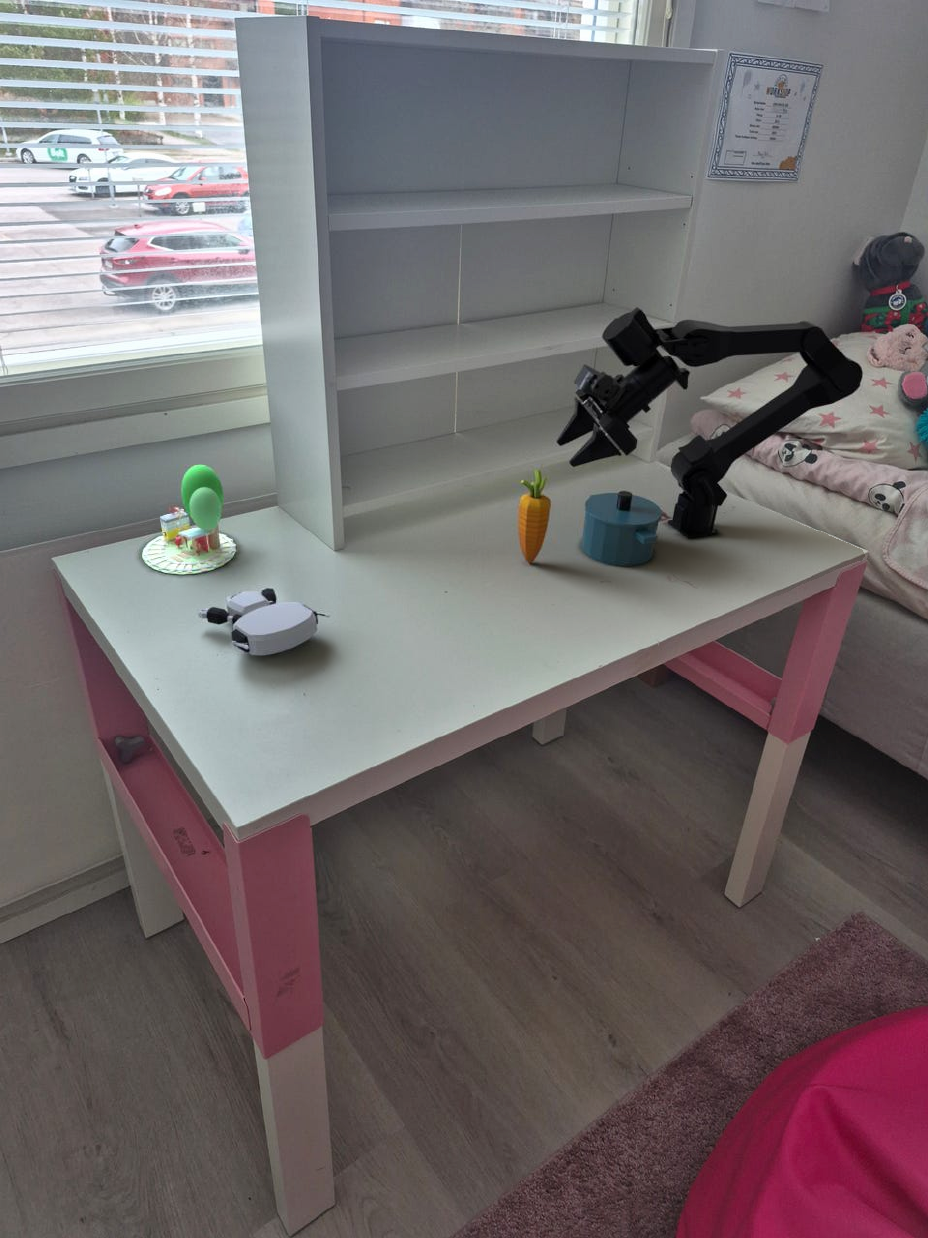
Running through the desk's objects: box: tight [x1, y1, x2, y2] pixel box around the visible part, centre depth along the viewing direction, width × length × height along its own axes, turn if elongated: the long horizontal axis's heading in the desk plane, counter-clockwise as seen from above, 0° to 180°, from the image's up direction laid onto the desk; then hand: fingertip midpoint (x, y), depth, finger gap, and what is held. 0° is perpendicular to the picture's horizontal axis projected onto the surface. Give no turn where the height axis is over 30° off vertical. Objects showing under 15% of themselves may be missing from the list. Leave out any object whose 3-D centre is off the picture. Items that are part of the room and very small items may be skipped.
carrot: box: [517, 469, 552, 564], centre depth 131 cm, size 5×5×15 cm
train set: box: [141, 464, 237, 575], centre depth 130 cm, size 15×14×14 cm
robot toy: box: [197, 587, 331, 656], centre depth 113 cm, size 12×4×15 cm
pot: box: [581, 494, 660, 567], centre depth 139 cm, size 11×17×7 cm
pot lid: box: [584, 490, 663, 528], centre depth 137 cm, size 12×12×4 cm
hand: (564, 453), depth 139 cm, fingers open, 9 cm apart
